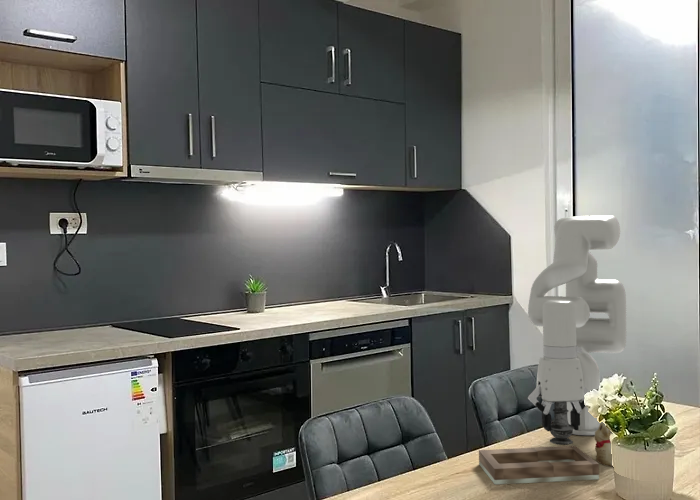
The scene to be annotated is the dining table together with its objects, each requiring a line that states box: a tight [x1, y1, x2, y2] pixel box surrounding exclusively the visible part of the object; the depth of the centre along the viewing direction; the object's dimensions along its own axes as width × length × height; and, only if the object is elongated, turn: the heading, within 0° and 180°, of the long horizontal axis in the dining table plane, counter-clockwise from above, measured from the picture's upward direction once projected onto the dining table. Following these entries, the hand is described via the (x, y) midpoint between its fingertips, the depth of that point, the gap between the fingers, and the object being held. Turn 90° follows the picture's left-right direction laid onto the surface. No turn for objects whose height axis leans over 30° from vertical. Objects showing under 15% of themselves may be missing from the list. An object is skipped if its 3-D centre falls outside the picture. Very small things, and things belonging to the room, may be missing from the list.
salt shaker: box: [549, 402, 574, 446], centre depth 168 cm, size 6×6×12 cm
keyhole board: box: [478, 445, 600, 485], centre depth 168 cm, size 24×14×4 cm, turn 94°
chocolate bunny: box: [594, 422, 613, 467], centre depth 175 cm, size 6×8×10 cm
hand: (561, 428), depth 169 cm, fingers closed on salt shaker, 5 cm apart
